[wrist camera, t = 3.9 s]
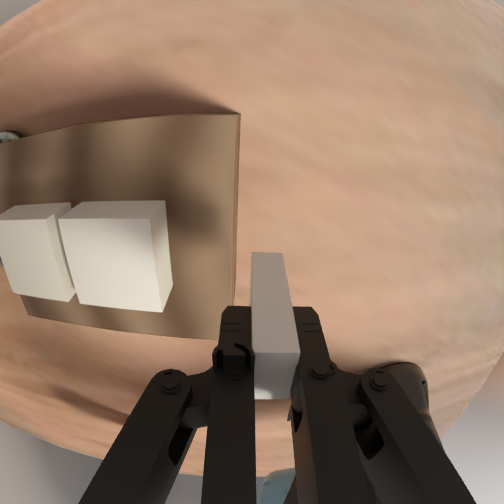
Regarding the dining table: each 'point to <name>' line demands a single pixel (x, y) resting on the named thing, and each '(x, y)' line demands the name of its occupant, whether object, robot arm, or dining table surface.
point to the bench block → (143, 189)
